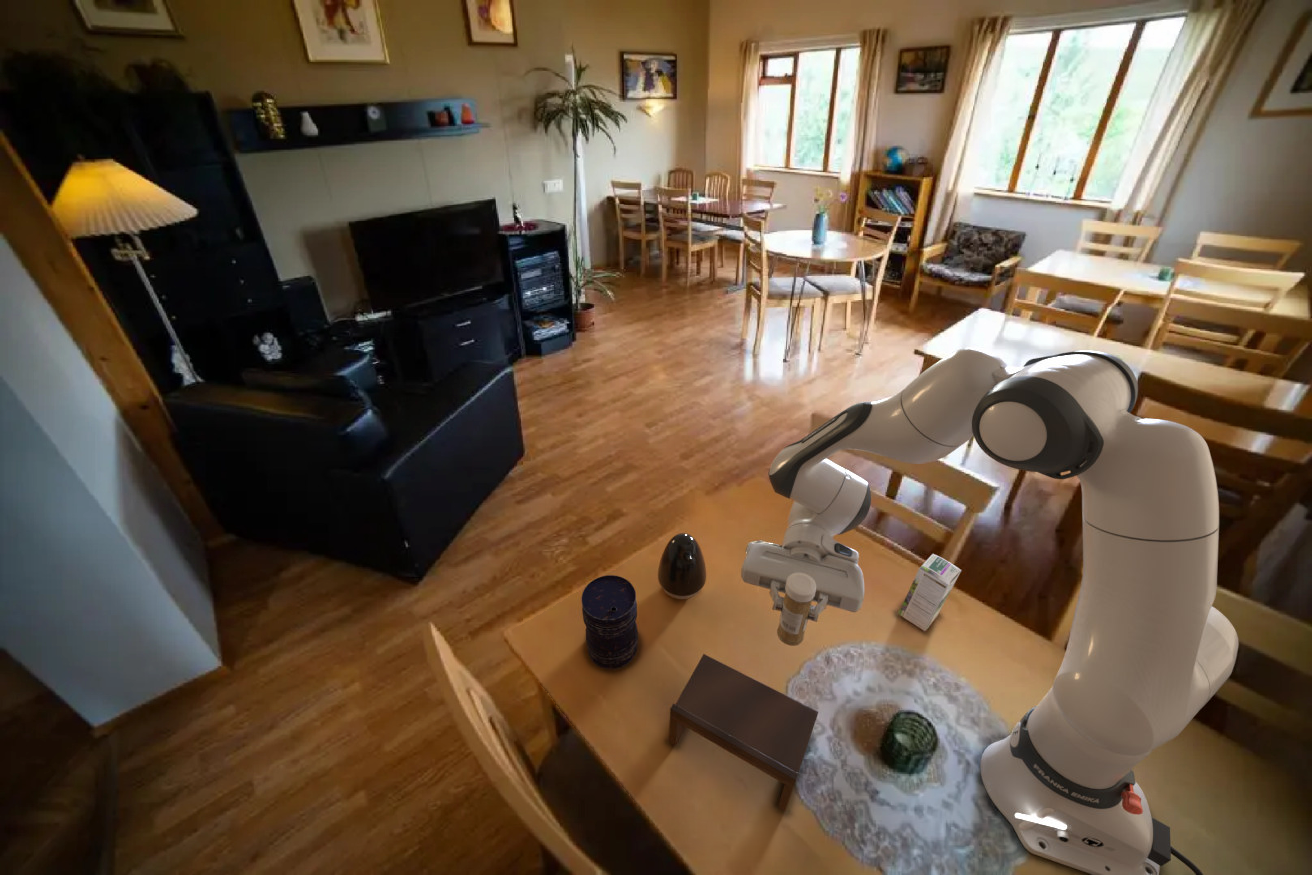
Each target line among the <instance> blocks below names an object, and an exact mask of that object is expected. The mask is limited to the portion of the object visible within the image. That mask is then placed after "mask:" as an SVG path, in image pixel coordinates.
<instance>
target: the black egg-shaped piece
mask: <svg viewBox="0 0 1312 875" xmlns="http://www.w3.org/2000/svg"><path fill="white" fill-rule="evenodd" d="M657 580H658V584H659V585H660V587H661V588H662V590H663V591H664V593H666V594H667V595H668V596H669V597H671V598H674V599H677V600H689V599H691V598H693V597H695V596H697V595H698V593H699V592H700V591H701V590H702V589H703V587H704V586H705V585H706V582H707V567H706V561H705V556H704V553H703V551H702V549H701V547H700V545H699V542H698V541H697V540H696V539H695V537H693V536H692V535H690V534H689V533H686V532H681V533H677V534H675V535H674V536H672V537H671V539H670V540H669V541H668V542H667V544H666V545H665V547H664V549H663V552H662V554H661V557H660V560H659V564H658V569H657Z"/></svg>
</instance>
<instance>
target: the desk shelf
mask: <svg viewBox="0 0 1312 875" xmlns="http://www.w3.org/2000/svg"><path fill="white" fill-rule="evenodd" d="M818 716H819V710H816V709H814V708H812V707H810V706H808V705H807V704H804V703H802V702H800V701H799V700H796V699H794V698H792V697H790V696H788V695H786V694H784V693H783V692H780V691H778V690H777V689H774V688H773V687H770V686H768V685H766V684H765V683H763V682H761V681H759V680H757V679H755V678H753V677H751V676H749V675H747V674H744V673H743V672H740V671H739V670H737V669H735V668H733V667H731V666H729V665H727V664H725V663H724V662H721V661H720V660H717V659H715V658H713V657H711V656H710V655H707V654H705V653H703V654H702V656H701V658H700V660H699V661H698V663H697V664H696V667H695V669H694V670H693V672H692V674H691V675H690V677H689V679H688V681H687V683H686V685H685V687H684V688H683V690H682V692H681V694H680V695H679V697H678V699H677V701H676V703H672V705H671V706H670V709H669V743H671V744H673V745H674V746H677V744H678V742H679V740H680V738H681V736H682V734H683V733H684V730H685V729H686V728H687V729H689V730H690V731H692V732H694V733H695V734H697V735H699V736H701V737H702V738H704V739H705V740H708V741H709V742H711V743H713V744H715V745H716V746H717V747H720V748H722V749H723V750H725V751H727V752H728V753H730V754H733V756H735V757H737V758H739V759H740V760H742V761H744V762H745V763H748V764H750V765H751V766H753V767H755V768H756V769H757V770H759V771H762V772H763V773H765V774H766V775H769V776H770V777H771V778H774V779H775V780H777V781H779V782H781V783H782V784H784V786H783V789H782V792H781V796H780V798H779V801H778V805H777V808H779V809H781V810H782V811H784V812H786V811H787V808H788V806H789V802H790V799H791V796H792V794H793V790H794V787H795V785H796V782H797V779H798V776H799V773H800V770H801V767H802V764H803V760H804V757H805V754H806V752H807V748H808V745H809V743H810V739H811V736H812V733H813V730H814V727H815V724H816V722H817V718H818Z"/></svg>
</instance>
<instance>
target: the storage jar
mask: <svg viewBox="0 0 1312 875" xmlns="http://www.w3.org/2000/svg"><path fill="white" fill-rule="evenodd" d="M635 589H636V588H635V587H634V585H633V584H632V583H631V581H630V580H628V579H626V578H624V577H623V576H620V575H614V574H609V575H608V574H607V575H601V576H599V577H596V578H594V579H593V580H591V581H590V582H588V584H586V586H585V587H584V589H583V591H582V594H581V612H582V618H583V623H584V625H585V643H586V647H587V653H588V656H589V658H590V660H591V661H592V663H594V664H595V665H596V666H597V667H599V668H601V669H605V670H618V669H621V668H623V667H625V666H627V665H628V664H630V663H631V662H632V661H633V660H634V658H635V656H636V655H637V652H638V646H639V645H638V644H639V643H638V641H639V632H638V625H637V618H638V603H637V594H636V590H635Z"/></svg>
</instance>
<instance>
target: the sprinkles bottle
mask: <svg viewBox="0 0 1312 875" xmlns="http://www.w3.org/2000/svg"><path fill="white" fill-rule="evenodd" d="M785 590H786V592H785V593H784V600H783V606H782V611H780V615H779V622H778V626H777V630H776V635H777V637H778V639H779V641H781V642H782V643H783V644H785V645H787V646H791V647H795V646H796V647H797V646H799V645H801V644H802V643H803V641H804V639H805V632H806V629H807V625H808V621H809V620H808V615H809V611H810V607H811V605H812V603H813V601H812V599H813V598H814V596H815V592H816V583H815V581H814V580H813V578H811V577H810V576H809V575H807V574H804V573H793V574H791V575H790V576H789V577H788V578H787V581H786V586H785Z"/></svg>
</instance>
